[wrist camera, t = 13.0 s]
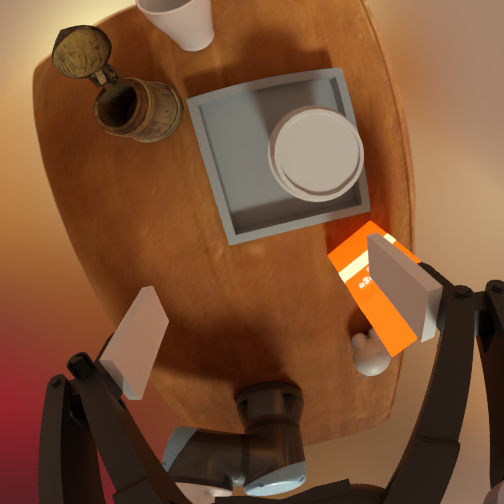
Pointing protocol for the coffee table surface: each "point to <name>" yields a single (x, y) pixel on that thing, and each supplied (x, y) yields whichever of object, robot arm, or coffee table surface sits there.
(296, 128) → the disposable coffee cup
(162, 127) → the wooden mug
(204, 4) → the drinking glass
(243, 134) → the tray
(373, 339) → the round bodied animal figurine
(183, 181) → the coffee table surface
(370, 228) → the orange juice
